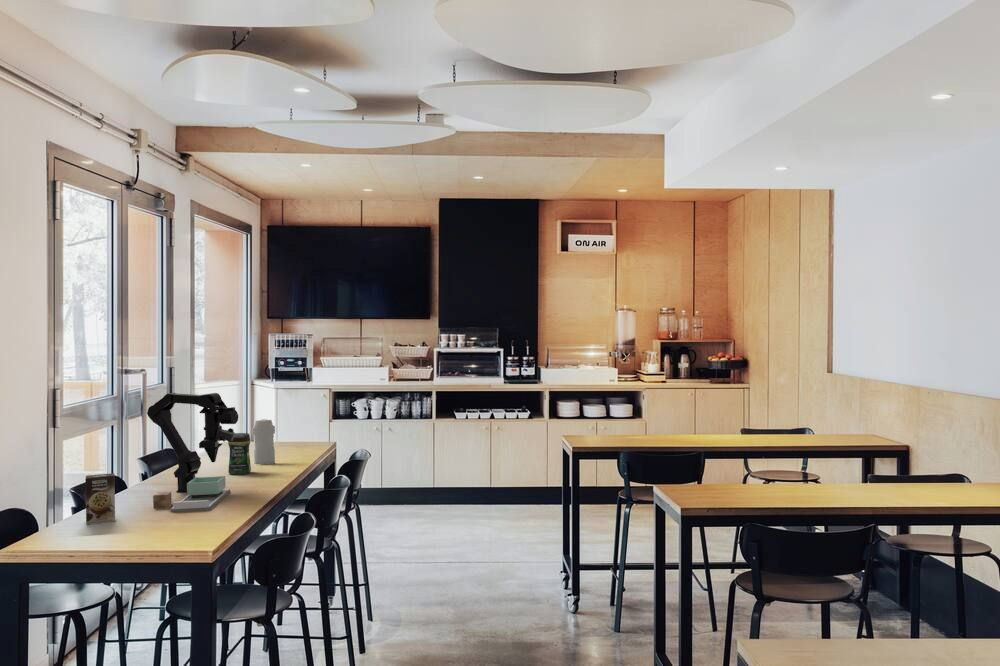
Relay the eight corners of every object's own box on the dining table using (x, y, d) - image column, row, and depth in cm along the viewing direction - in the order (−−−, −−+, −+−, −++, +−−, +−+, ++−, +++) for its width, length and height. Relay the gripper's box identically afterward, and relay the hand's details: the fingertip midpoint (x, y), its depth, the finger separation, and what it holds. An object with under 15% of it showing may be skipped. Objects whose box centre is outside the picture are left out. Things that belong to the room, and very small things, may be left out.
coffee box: (86, 525, 258) (84, 478, 258) (86, 520, 264) (85, 475, 264) (115, 521, 262) (114, 475, 262) (115, 517, 268) (114, 472, 268)
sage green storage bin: (187, 498, 290) (186, 483, 290) (195, 492, 301) (195, 477, 301) (218, 497, 291) (217, 482, 291) (225, 490, 302) (225, 476, 302)
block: (153, 508, 280) (153, 495, 280) (157, 505, 285) (157, 492, 285) (167, 507, 280) (167, 494, 280) (171, 504, 285) (171, 491, 285)
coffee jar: (226, 475, 340) (225, 434, 340) (232, 472, 348) (230, 432, 348) (248, 474, 340) (246, 434, 340) (253, 471, 348) (251, 431, 348)
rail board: (170, 512, 273) (170, 502, 273) (194, 493, 303) (194, 485, 303) (210, 510, 275) (210, 500, 275) (230, 491, 305) (230, 483, 305)
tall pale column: (252, 465, 364) (251, 420, 363) (254, 463, 368) (253, 419, 367) (275, 464, 365) (273, 419, 364) (276, 462, 369) (275, 418, 368)
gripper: (227, 426, 298) (228, 465, 299) (237, 420, 317) (239, 457, 317) (198, 427, 297) (199, 466, 297) (210, 421, 316) (211, 458, 316)
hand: (213, 462), depth 307 cm, fingers closed
